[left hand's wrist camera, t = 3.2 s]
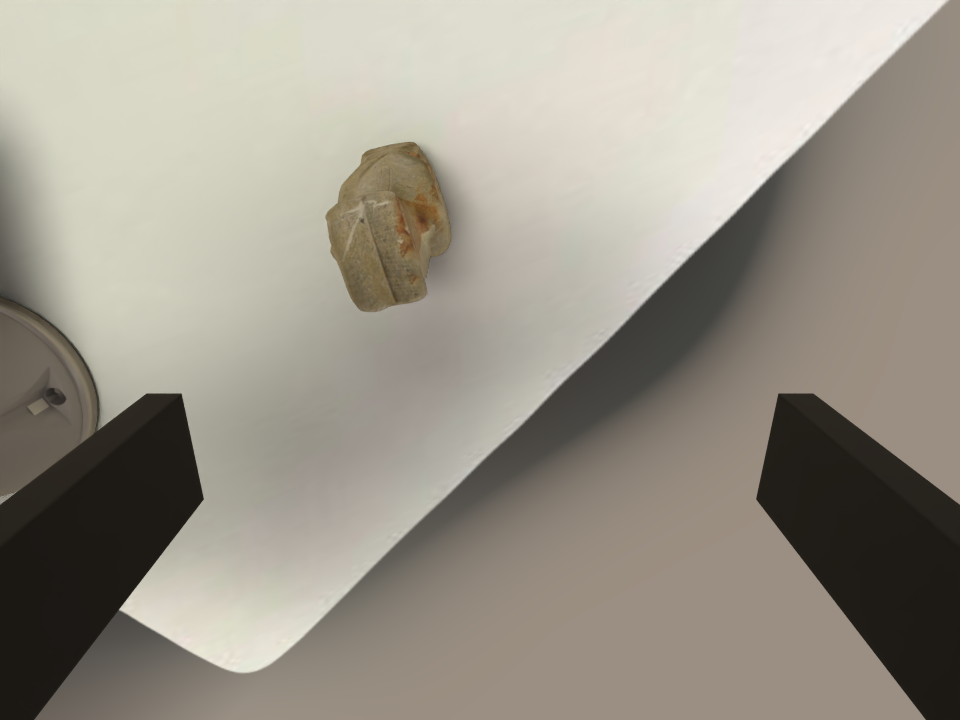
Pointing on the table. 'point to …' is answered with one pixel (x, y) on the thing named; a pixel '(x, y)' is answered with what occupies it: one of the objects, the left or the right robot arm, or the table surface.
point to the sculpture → (388, 227)
